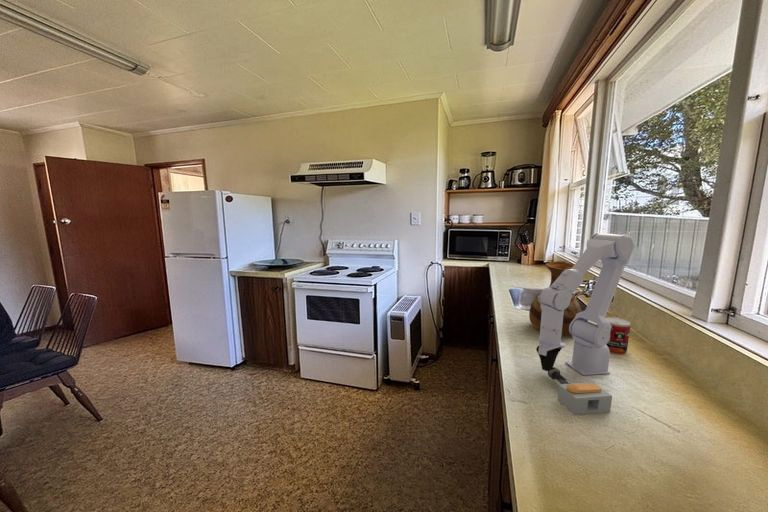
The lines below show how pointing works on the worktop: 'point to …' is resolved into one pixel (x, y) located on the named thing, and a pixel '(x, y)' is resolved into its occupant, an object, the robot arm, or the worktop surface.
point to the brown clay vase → (569, 312)
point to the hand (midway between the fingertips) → (547, 368)
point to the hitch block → (584, 400)
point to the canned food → (618, 335)
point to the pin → (557, 376)
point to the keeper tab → (583, 388)
